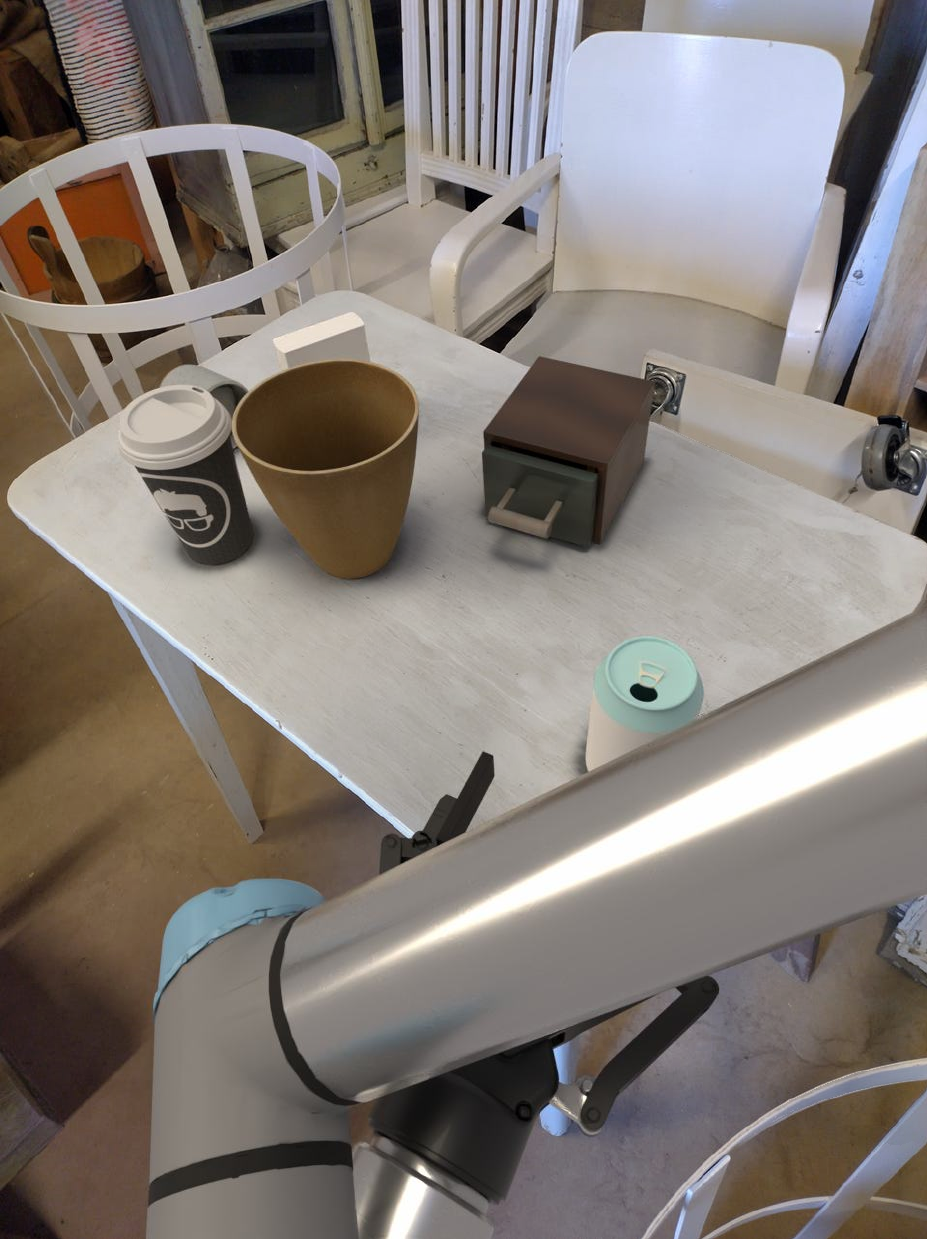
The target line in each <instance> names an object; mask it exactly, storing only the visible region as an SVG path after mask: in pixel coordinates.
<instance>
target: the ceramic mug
mask: <svg viewBox="0 0 927 1239" xmlns="http://www.w3.org/2000/svg"><path fill="white" fill-rule="evenodd" d="M171 385H192V386H197V387H200V388H202V389H204V390H206V391H208V392H209V393H210V394H211V395H212V396H213V398H215V399H217V400H218V401H219V402H220V403H221V404H222V405H223V406H224V407H225V409H226V410H227V411H228V413H229V414H230V416H231V419H233V415H234V412H235V409H236V407H237V406H238V404H239V402H240V401H241V399H242V398H243V397H244V396H245V395H246V394H247V393H248V392H249V391H250V390H249V389H248V388H247V387H246V386H245V385H243V384H242V383H240V382H239V381H237V380H235V379H232V378H229V377H228V376H225V375H223V374H221V373H218V372H217V371H213V370H211V369H209V368H206V367H204V366H202V365H197V364H196V365H195V364H182V365H179V366H176V367H174V368H172V369H171V370H170V371H168V373H166V374H165V375H164V377H163V379H162V380H161V382H160V384H159V387H158V388H161V387H165V386H171ZM230 438H231V443H232V447H233V450H234V449H236V448H238V446H237V444H236V442H235V439H234V436H233V433H232V428H231V432H230Z"/></svg>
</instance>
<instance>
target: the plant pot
mask: <svg viewBox="0 0 927 1239" xmlns="http://www.w3.org/2000/svg"><path fill="white" fill-rule="evenodd" d="M248 391H249V392H248V393H247V394H246V395H245V396H244V397H243V398H242V399H241V401H240V402H239V404H238V406H237V407H236V409H235V412H234V415H233V419H232V433H233V436H234V439H235V442H236V444H237V448H238V450H239V452H240V454H241V456H242V459H243V460H244V462H245V464H246V465H247V468H248V470H249V471H250V473H251V476H252V477H253V479H254V480H255V482H256V484H257V486H258V488H259V489H260V491H261V492H262V494H263V496H264V498H265V499H266V501H267V503H268V504H269V505H270V507H271V508H272V510H273V511H274V513H275V514H276V516H277V517H278V518H279V520H280V521H281V523H282V524H283V526H284V527H285V528H286V530H287V531H288V533H290V535H291V537H292V538H293V539H294V540H295V541H296V542H297V544H299V547H301V549H302V550H304V552H305V553H306V554H307V555H308V556H309V557H310V558H311V559H312V560H313V562H314V563H316V565H317V566H319V568H320V569H321V570H323V571H324V572H325V573H327V574H328V575H331V576H333V577H335V578H339V579H346V580H349V579H350V580H353V579H355V580H356V579H361V578H364V577H365V578H366V577H368V576H371V575H373V574H375V573H377V572H379V571H380V570H381V569H383V568H384V567H385V566H386V565H387V564H388V562H389V561H390V560H391V558H392V556H393V554H394V551H395V549H396V546H397V542H398V540H399V537H400V534H401V530H402V528H403V525H404V524H403V523H404V521H405V517H406V513H407V510H408V509H407V508H408V505H409V501H410V496H411V490H412V486H413V485H412V484H413V480H414V479H413V478H414V473H415V466H416V456H417V444H418V432H419V416H420V415H419V413H420V403H419V402H420V401H419V398H418V394H417V392H416V390H415V388H414V387H413V386H412V384H411V383H410V381H409V380H407V379H406V378H405V377H404V376H403V375H401V374H400V373H398V372H397V371H395V370H393V369H391V368H390V367H387V366H385V365H382V364H379V363H375V362H371V361H370V362H366V361H361V360H353V359H333V360H323V361H316V362H310V363H306V364H301V365H297V366H294V367H291V368H288V369H285V370H283V371H281V370H280V371H278V372H276V373H274V374H273V375H270V376H269V377H267V378H265V379H263V380H261V381H259V383H257V384H255V386H253V387H252V388H251V389H250V390H248Z"/></svg>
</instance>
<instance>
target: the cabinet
mask: <svg viewBox="0 0 927 1239" xmlns="http://www.w3.org/2000/svg"><path fill="white" fill-rule="evenodd" d="M655 384H656V382H655V381H654V380H650V379H646V378H641V377H636V376H631V375H627V374H623V373H617V372H613V371H609V370H604V369H600V368H595V367H590V366H586V365H581V364H577V363H572V362H569V361H563V360H557V359H554V358H550V357H544V356H540V355H539V356H537V358H536V359H535V361H534V362H533V363H532V365H531V366H530V367H529V369H528V370H527V371H526V373H525V374H524V375H523V377H522V379H521V380H520V381H519V382H518V384H517V385H516V386H515V387H514V389H513V391H512V392H511V393H510V394H509V396H508V397H507V398H506V400H505V402H504V403H503V404H502V405H501V406H500V408H499V409H498V411H497V412H496V414H494V416H493V418H492V419H491V420H490V422H489V423H488V424H487V426H486V427H485V428H484V430H483V432H482V433H483V434H482V436H483V437H482V438H483V450H484V449H485V448H486V446H487V445H490V446H494V447H497V448H501V443H502V444H506V445H510V446H514V447H518V448H522V449H526V450H529V451H533V452H537V453H541V454H545V455H549V456H552V457H556V458H560V459H564V460H568V461H572V462H575V463H579V464H583V465H587V466H591V467H595V468H598V481H597V493H596V505H595V517H594V528H593V539H592V541H591V543H595V544H596V545H597V544H598V545H601V544H602V542H603V540H604V538H605V536H606V535H607V532H608V531H609V528H610V527H611V524H612V523H613V521H614V519H615V517H616V515H617V514H618V511H619V510H620V508H621V506H622V504H623V502H624V501H625V498H626V497H627V495H628V493H629V491H630V489H631V487H632V485H633V483H634V482H635V480H636V478H637V476H638V474H639V472H640V470H641V469H642V467H643V464H644V462H645V455H646V448H647V441H648V434H649V428H650V427H649V426H650V420H651V412H652V405H653V398H654V390H655Z"/></svg>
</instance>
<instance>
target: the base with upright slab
mask: <svg viewBox="0 0 927 1239" xmlns="http://www.w3.org/2000/svg"><path fill="white" fill-rule="evenodd" d="M367 339H368V338H367V334H366V328H365V322H364V321H363V319H362V317H361V316H359V315H358V314H356V313H355V312H352V311H349V312H346V313H343V314H341V315H338V316H335V317H332V318H329V319H327V320H324V321H321V322H317V323H315V324H312V325H309V326H306V327H303V328H301V329H298V330H295V331H291V332H289V333H286V334H284V335H280V336H278V337H275V338H273V339H272V342H273V346H274V349H275V354H276V357H277V361H278V365H279V368H280V372H281V371H283V370H285V369H288V368H291V367H294V366H297V365H301V364H306V363H310V362H316V361H323V360H333V359H353V360H361V361H366V362H371V357H370V350H369V346H368V340H367Z"/></svg>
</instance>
